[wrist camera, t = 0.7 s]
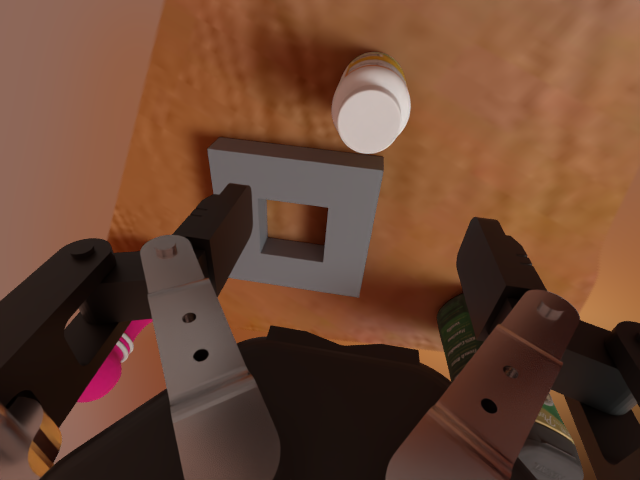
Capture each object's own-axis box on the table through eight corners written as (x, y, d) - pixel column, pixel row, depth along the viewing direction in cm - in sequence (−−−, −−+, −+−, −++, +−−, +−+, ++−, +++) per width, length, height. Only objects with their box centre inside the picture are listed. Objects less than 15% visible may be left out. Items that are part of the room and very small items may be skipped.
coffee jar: (424, 314, 44) (446, 480, 29) (471, 278, 39) (525, 454, 25) (481, 346, 46) (527, 517, 31) (532, 315, 41) (614, 498, 27)
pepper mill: (139, 233, 43) (-4, 380, 27) (196, 249, 43) (87, 404, 27) (143, 274, 47) (22, 420, 31) (194, 288, 47) (100, 441, 32)
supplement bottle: (375, 131, 31) (373, 179, 23) (327, 93, 30) (308, 131, 22) (419, 80, 28) (433, 116, 20) (368, 35, 27) (362, 55, 19)
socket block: (219, 136, 34) (207, 148, 31) (383, 156, 32) (383, 170, 30) (233, 260, 43) (224, 277, 41) (360, 279, 42) (358, 297, 40)
